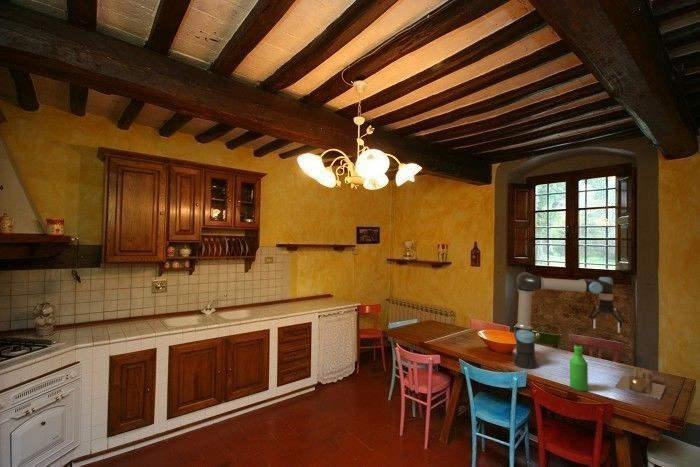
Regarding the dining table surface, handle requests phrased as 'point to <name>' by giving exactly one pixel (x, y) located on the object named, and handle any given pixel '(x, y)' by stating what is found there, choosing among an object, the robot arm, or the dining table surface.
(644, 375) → the planet gear
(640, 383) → the carrier
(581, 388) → the bottle
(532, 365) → the robot arm
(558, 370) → the dining table surface
